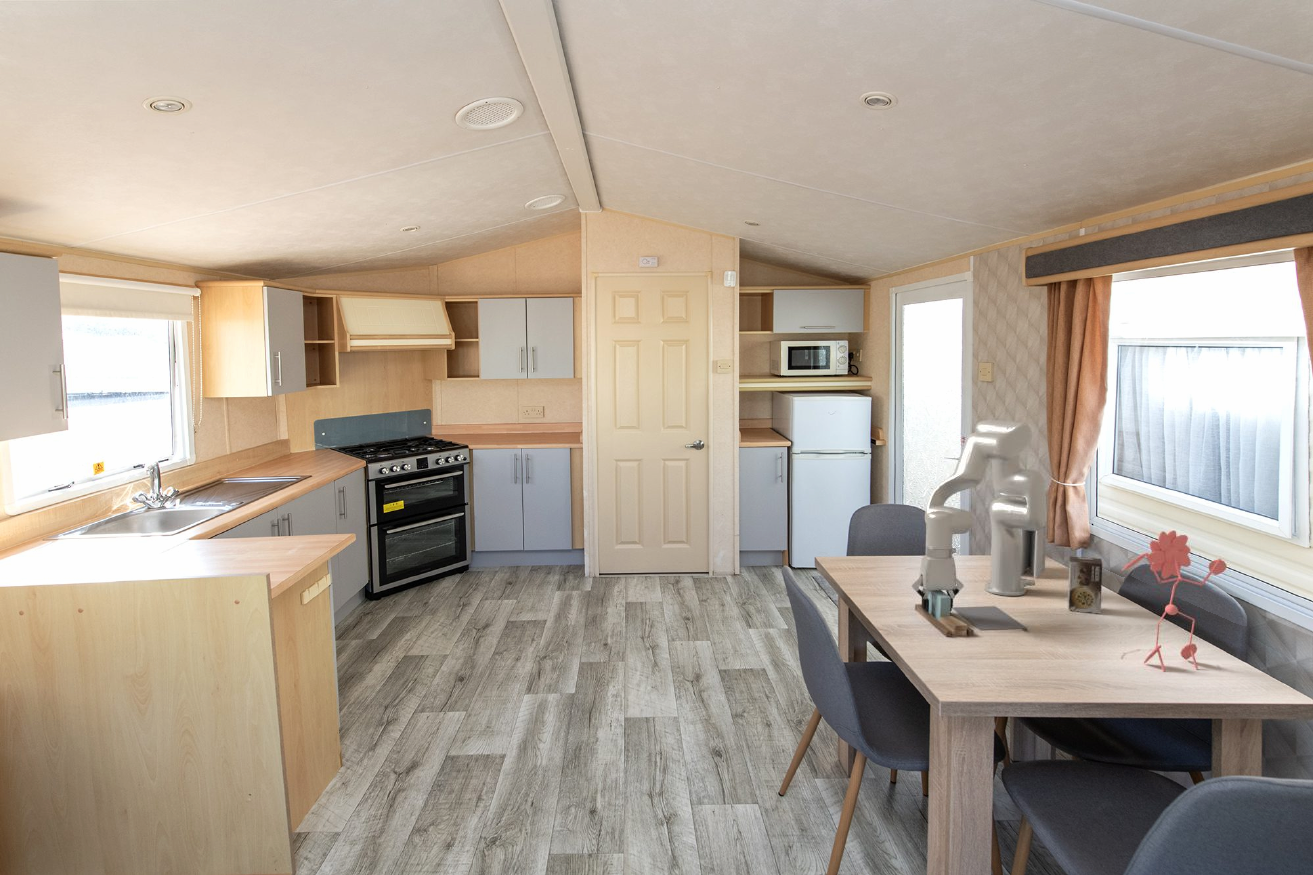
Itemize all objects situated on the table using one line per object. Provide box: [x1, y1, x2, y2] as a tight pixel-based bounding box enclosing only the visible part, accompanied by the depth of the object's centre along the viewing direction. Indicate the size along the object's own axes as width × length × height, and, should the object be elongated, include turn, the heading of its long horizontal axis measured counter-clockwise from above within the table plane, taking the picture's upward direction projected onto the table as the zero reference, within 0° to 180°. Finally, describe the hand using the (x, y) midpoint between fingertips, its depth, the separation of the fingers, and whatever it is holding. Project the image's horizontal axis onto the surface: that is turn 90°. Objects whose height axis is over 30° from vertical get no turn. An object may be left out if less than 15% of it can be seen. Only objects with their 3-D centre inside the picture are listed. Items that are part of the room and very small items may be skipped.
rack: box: [914, 603, 975, 638], centre depth 245 cm, size 8×24×2 cm, turn 3°
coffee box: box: [1067, 555, 1104, 615], centre depth 256 cm, size 9×6×16 cm
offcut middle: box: [944, 625, 968, 637], centre depth 238 cm, size 4×8×2 cm, turn 7°
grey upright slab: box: [1020, 488, 1050, 579], centre depth 297 cm, size 14×6×30 cm, turn 143°
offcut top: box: [939, 616, 968, 631], centre depth 238 cm, size 4×8×2 cm, turn 12°
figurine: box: [1121, 530, 1227, 672], centre depth 215 cm, size 15×26×35 cm, turn 96°
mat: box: [952, 605, 1028, 632], centre depth 248 cm, size 14×20×1 cm
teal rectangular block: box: [928, 590, 951, 621], centre depth 249 cm, size 3×12×9 cm, turn 3°
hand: (937, 609), depth 249 cm, fingers open, 6 cm apart
